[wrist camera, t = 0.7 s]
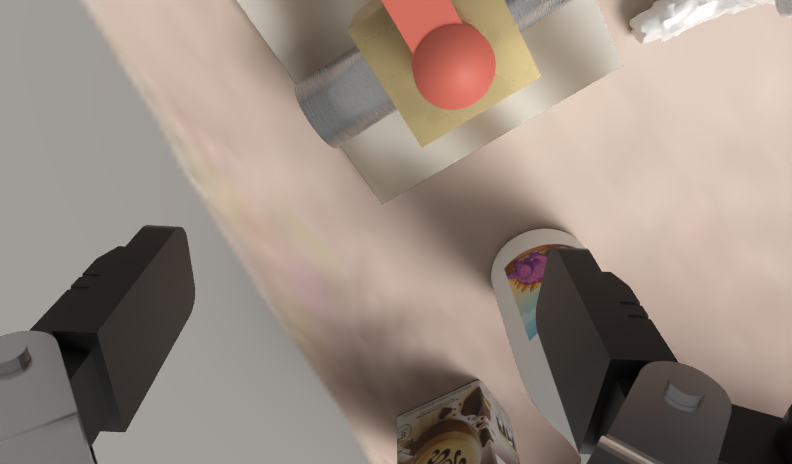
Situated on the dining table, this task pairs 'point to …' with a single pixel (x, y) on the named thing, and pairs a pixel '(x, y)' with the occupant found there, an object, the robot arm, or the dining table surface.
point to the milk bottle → (531, 316)
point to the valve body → (393, 77)
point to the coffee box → (457, 430)
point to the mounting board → (411, 164)
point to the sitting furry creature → (690, 15)
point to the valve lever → (444, 52)
